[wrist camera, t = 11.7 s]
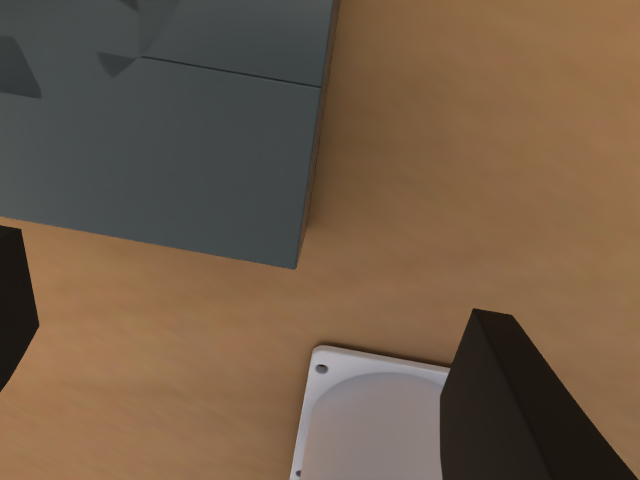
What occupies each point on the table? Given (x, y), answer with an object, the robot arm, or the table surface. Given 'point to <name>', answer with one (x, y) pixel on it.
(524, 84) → the table surface
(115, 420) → the table surface
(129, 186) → the hole board
